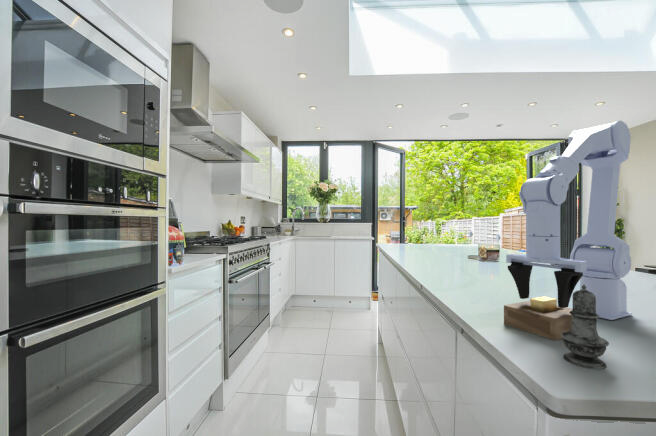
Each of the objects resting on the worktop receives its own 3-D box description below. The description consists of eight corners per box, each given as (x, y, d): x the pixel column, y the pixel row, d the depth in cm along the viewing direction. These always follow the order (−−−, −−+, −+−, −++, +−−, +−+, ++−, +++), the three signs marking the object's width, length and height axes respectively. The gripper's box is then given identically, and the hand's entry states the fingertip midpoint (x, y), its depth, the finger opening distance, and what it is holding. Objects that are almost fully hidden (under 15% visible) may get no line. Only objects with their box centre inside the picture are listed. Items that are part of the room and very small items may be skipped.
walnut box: (533, 317, 72) (533, 300, 72) (584, 331, 63) (584, 311, 63) (503, 324, 67) (503, 305, 67) (554, 340, 58) (554, 318, 58)
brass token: (544, 324, 67) (544, 296, 67) (556, 328, 65) (556, 299, 65) (530, 327, 65) (530, 298, 65) (543, 331, 63) (543, 301, 63)
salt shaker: (618, 371, 46) (618, 289, 47) (573, 367, 48) (573, 287, 48) (594, 354, 52) (593, 281, 52) (553, 351, 53) (553, 280, 53)
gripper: (497, 234, 70) (497, 296, 70) (571, 238, 57) (571, 314, 57) (517, 234, 73) (517, 293, 73) (592, 237, 60) (592, 309, 60)
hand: (542, 302), depth 65 cm, fingers open, 7 cm apart
